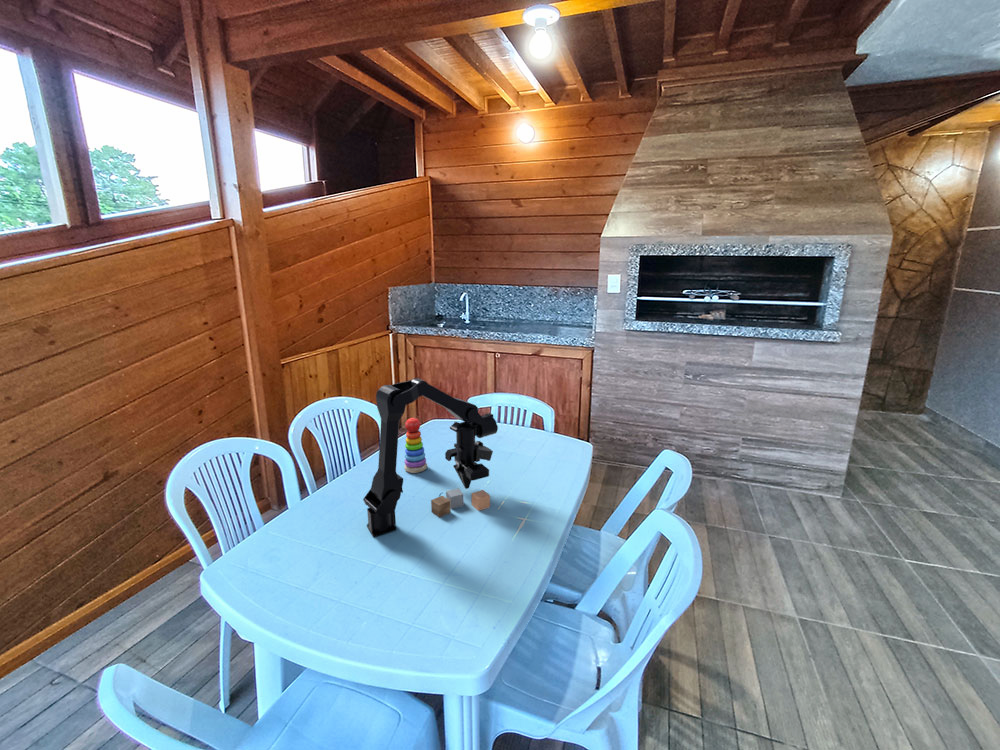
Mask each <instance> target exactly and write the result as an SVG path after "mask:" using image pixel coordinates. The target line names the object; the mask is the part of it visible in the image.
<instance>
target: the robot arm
mask: <svg viewBox="0 0 1000 750" xmlns="http://www.w3.org/2000/svg"><path fill="white" fill-rule="evenodd" d="M420 397H424V398H426V399H428V400H430V401H432V402H433V403H435V404H438V405H439V406H441V407H444V409H446V411H448V413H449V414H451V415H452V416H453V417H454V418H456V419H459V420H460V421H461V422H459V421H454V423H452V425H451V426H449V430H451V431H454V432H455V433H456V435H455V436H456V443H453V444H454V445H453V447H454V448H450V449H447V450H446V451H445V454H444V455H445V459H446V460H447V461H448V462H451V461H452V458H454V462H455V464H454V465H453V469H454V470H455V472H456V473H457V475H458V478H459V480H460V481H461V483H462V485H463V487H464V488H465V490H466V489H470V486H471V483H472V481H473V482H474V481H476V480H481V479H484V478H488V477H489V476H490V469H489V468H488V467H487V466H485V465H484V464H483V463H478V462H481V461H480V460H484V461H489V462H491V459H492V457H493V456H492V455H493V454H494V453H493V452H494V451H493V450H492V449H491V448H490V447H487V446H485V445H484V443H483V442H482V441H481V440H476V438H478V439H482V438H485V437H488V436H492V435H495V434H497V433H498V430H499V428H498V427H499V426H498V424H497V421H496V420H495V418H494V414H492V413H491V412H488V413H485V414H483V415H481V414H480V412H479V407H478V406H477V405H475V404H474V403H471V402H468V401H466V400H464V399H460V398H458V397H457V398H456V397H453V396H451V395H450V394H448V393H446V392H444V391H442V390H441V389H438V388H437V387H435V386H433V385H431V384H430V383H428V382H427V381H426V380H423V379H421V378H418V377H416V378H415V377H414V378H412V379H409V380H407V381H402V382H396V383H393V384H384V385H382V386H380V388H379V389H377V391H376V395H375V399H376V407H377V411H378V415H379V417H380V433H379V435H380V436H379V448H378V449H379V450H378V468H377V471H376V472H375V474H374V476H373V478H372V482H371V487H370V489H369V490H368V491H367V493H366V495H365V496H364V497H363V502H364V504H365V505H366V506H368V508H366V509H367V524H366V527H367V529H368V530H369V532H370V533H371V535H372V537H374V538H375V537H378V536H379V537H380V536H381V535H385V534H388V533H391V532H394V531H395V532H396V531H397V527H396V524H397V520H396V519H397V518H396V508H397V505H398V501H400V499H401V495H402V493H404V491H403V485H404V478H403V477H402V476H401V475H399V474H398V473H397V464H398V463H397V461H398V459H397V458H398V447H399V446H398V445H399V431H400V430H399V429H400V421H401V419H402V417H403V415H404V414H405V412H406V406H407V405H409V404H412V403H414V402H415V401H416V400H418V398H420Z"/></svg>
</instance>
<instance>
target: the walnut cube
mask: <svg viewBox="0 0 1000 750" xmlns="http://www.w3.org/2000/svg"><path fill="white" fill-rule="evenodd" d="M430 506H431V507H430V508H431V513H432V514H434V515H435V516H436V517H438V518H441V517H444V516H446V515H449V514H451V510H452V509H451V508H450V500H448V499H447V498H446V496H443V495H440V496H438V497H434V498H433V499H431V500H430Z"/></svg>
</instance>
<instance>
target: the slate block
mask: <svg viewBox="0 0 1000 750" xmlns="http://www.w3.org/2000/svg"><path fill="white" fill-rule="evenodd" d="M445 498H447V499H448V500H450V508H451V510H453V509H457V508H460V507H464V505H465V504H464V500H465V499H464V493H463V492H462V490H461V489H460V488H454V489H450V490H446V491H445Z"/></svg>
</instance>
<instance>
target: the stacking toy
mask: <svg viewBox="0 0 1000 750" xmlns="http://www.w3.org/2000/svg"><path fill="white" fill-rule="evenodd" d="M404 427H405V429H406V430H407V431H406V433H405V436H406V438H405V445H404V447H405V449H404V452H405V454H404V458H405V459H404V466H403V468H404V470H405V471H406V472H407V473H413V474H415V473H416V474H418V473H421V472H424V471H425V470H426V469H427V468H428V463H427V458H426V453H425V448H424V444H423V441H422V440H423V439H422V435H421V434H422V433H421V430H420V428H421V422H420V421H419V419H418V418H416V417H411V418H408V419H406V421H405V425H404Z"/></svg>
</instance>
